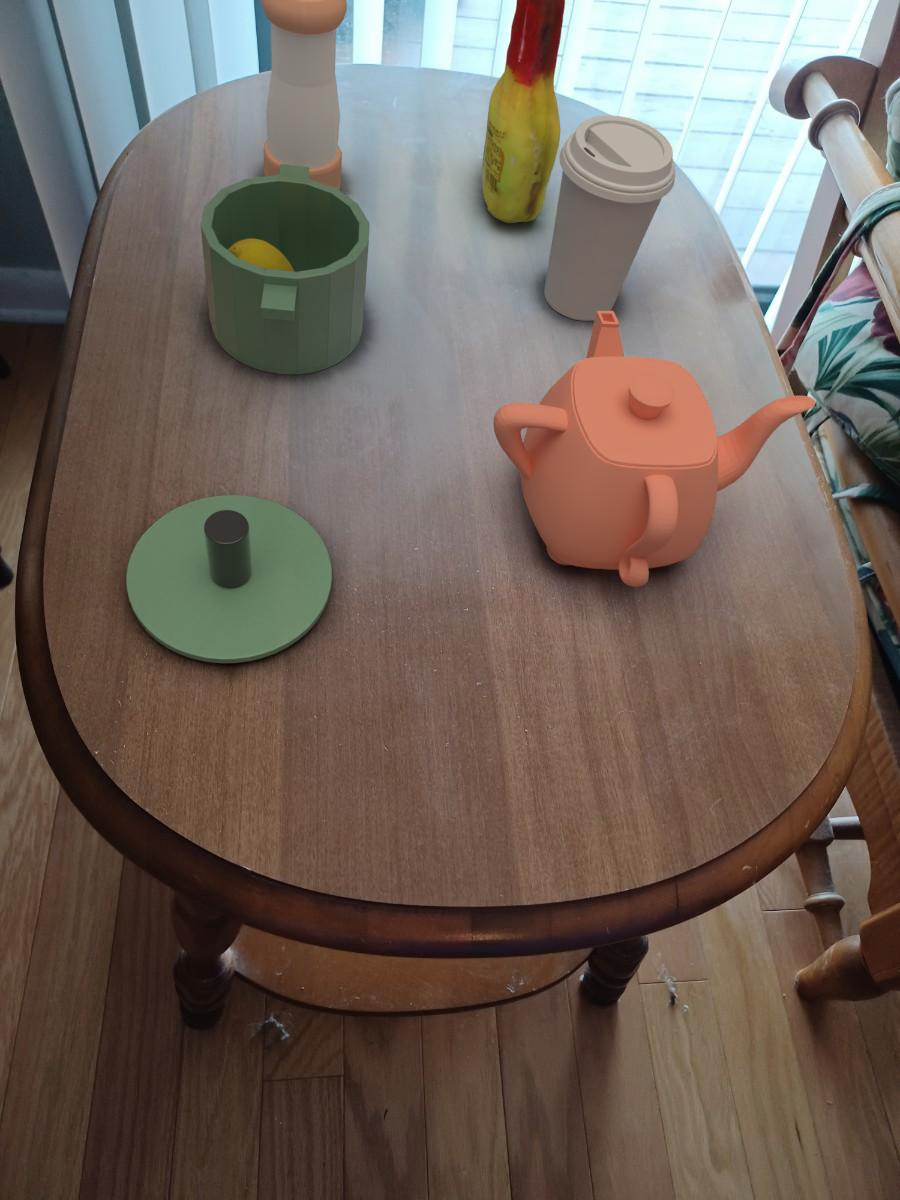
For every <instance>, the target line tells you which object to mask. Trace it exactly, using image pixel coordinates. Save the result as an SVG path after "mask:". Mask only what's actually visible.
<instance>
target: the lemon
mask: <svg viewBox="0 0 900 1200" xmlns="http://www.w3.org/2000/svg"><path fill="white" fill-rule="evenodd" d="M228 251H230V252H231V253H232V254H233V255H235V256H236V257H237V258H239V259H241V260H244V261H246V262H249V263H252V264H254V265H257V266H260V267H263V268H265V269H273V270H284V271H294V269H293V267H292V266H291V264H290V263H289V261H288V260H287V259H286V257H285V256H284V255H283V254H282V253H281V252H280V251H279V250H278V249H276V248H275V247H274V246H272V245H271V244H269V243H267V242H265V241H263V240H259V239H244V240H241V241H238V242H236V243H235V244H233V245H232V246H231V247H230V248H229V249H228Z"/></svg>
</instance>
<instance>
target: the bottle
mask: <svg viewBox="0 0 900 1200" xmlns="http://www.w3.org/2000/svg"><path fill="white" fill-rule="evenodd" d="M565 6H566V0H516V5H515V12H514V15H513V19H512V22H511V27H510V29H511V30H510V40H509V43H508V46H507V50H506V59H505V66H504V72H503V73H502V74H501V76H500V77H499V79H498V80H497V82H496V84H495V86H494V87H493V89H492V92H491V95H490V98H489V102H488V103H489V104H488V111H487V120H486V121H487V123H486V130H485V141H484V146H483V153H482V154H483V155H482V165H481V166H482V167H481V178H480V179H481V180H480V182H481V187H482V193H483V198H484V199H483V200H484V201H485V204H486V206H487V211H488V212H489V213H490V215H491V216H492V217H493V218H495V219H496V220H497V219H498V221H501V222H503V223H506V224H515V223H522V222H523V223H524V222H532V221H533V220H535V219H536V218H537V217H538V216H539V215H540V213H541V212H542V209H543V206H544V203H545V200H546V192H547V188H548V184H549V183H550V179H551V175H552V172H553V169H554V167H555V163H556V159H557V155H558V150H559V146H560V145H559V144H560V139H561V120H560V113H559V107H558V101H557V96H556V92H555V85H554V84H555V73H556V68H557V61H558V56H559V55H558V54H559V49H560V44H561V39H562V30H563V22H564V15H565Z"/></svg>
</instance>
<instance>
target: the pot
mask: <svg viewBox="0 0 900 1200" xmlns="http://www.w3.org/2000/svg"><path fill="white" fill-rule="evenodd" d="M200 222H201V223H200V233H201V241H202V242H201V243H202V252H203V253H202V254H203V263H204V264H203V265H204V275H205V284H206V285H205V286H206V295H207V297H206V298H207V307H208V316H209V317H208V319H209V322H210V324H211V329H212V333H213V335H214V337H215V339H216V342H217V343H218V344H219V345H220V347H221V348H222V349H223V350H224V351H225V352H226V353H227V354H228V355H230V356H231V357H232V358H233V359H234V360H237V361H238V362H240V363H242V364H244V365H246V366H248V367H250V368H252V369H254V370H255V369H256V370H258V371H262V372H265V373H270V374H277V375H290V376H291V375H305V374H313V373H316V372H321V371H324V370H327V369H329V368H331V367H333V366H336V365H338V364H339V363H341V362H343V361H344V360H345V359H347V357H349V356H350V355H351V354H352V353H353V352H354V350H355V349H356V348H357V346H358V344H359V343H360V340H361V337H362V335H363V328H364V313H365V299H366V286H367V285H366V284H367V272H368V257H369V245H370V244H369V243H370V222H369V220H368V218H367V216H366V215H365V213H364V211H363V210H362V208H361V206H360V205H359V203H358V202H356V201H355V200H354V199H352V198H351V197H350V196H348V195H347V194H345V193H344V192H343V191H341V189H340V190H338V189H336V188H334V187H331V186H328V185H325V184H322V183H320V182H317V181H314V180H311V179H309V167H305V166H296V165H286V164H280V169H279V175H273V176H265V177H264V176H258V177H250V178H243V179H242V180H239V181H237V182H235V183H233V184H230V185H228V186H225V187H223V188H220V190H219V191H218V192H216V194H215V195H214V196H213V197H212V198H211V199H210V200H209V201H208V202H207V203H206V204H205V206H204V208H203V212H202V217H201V221H200ZM244 239H259V240H263V241H265V242H267V243H269V244H271V245H272V246H274V247H275V248H276V249H278V250H279V251H280V252H281V253H282V254H283V255H284V256H285V257H286V259H287V260H288V261H289V263H290V264H291V266H292V267H293V269H294V271H284V270H273V269H265V268H263V267H260V266H257V265H254V264H252V263H249V262H246V261H244V260H241V259H239V258H237V257H236V256H235V255H233V254H232V253H231V252H230V251H228V249H229V248H230V247H231V246H232V245H233V244H235V243H236V242H238V241H241V240H244Z"/></svg>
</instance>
